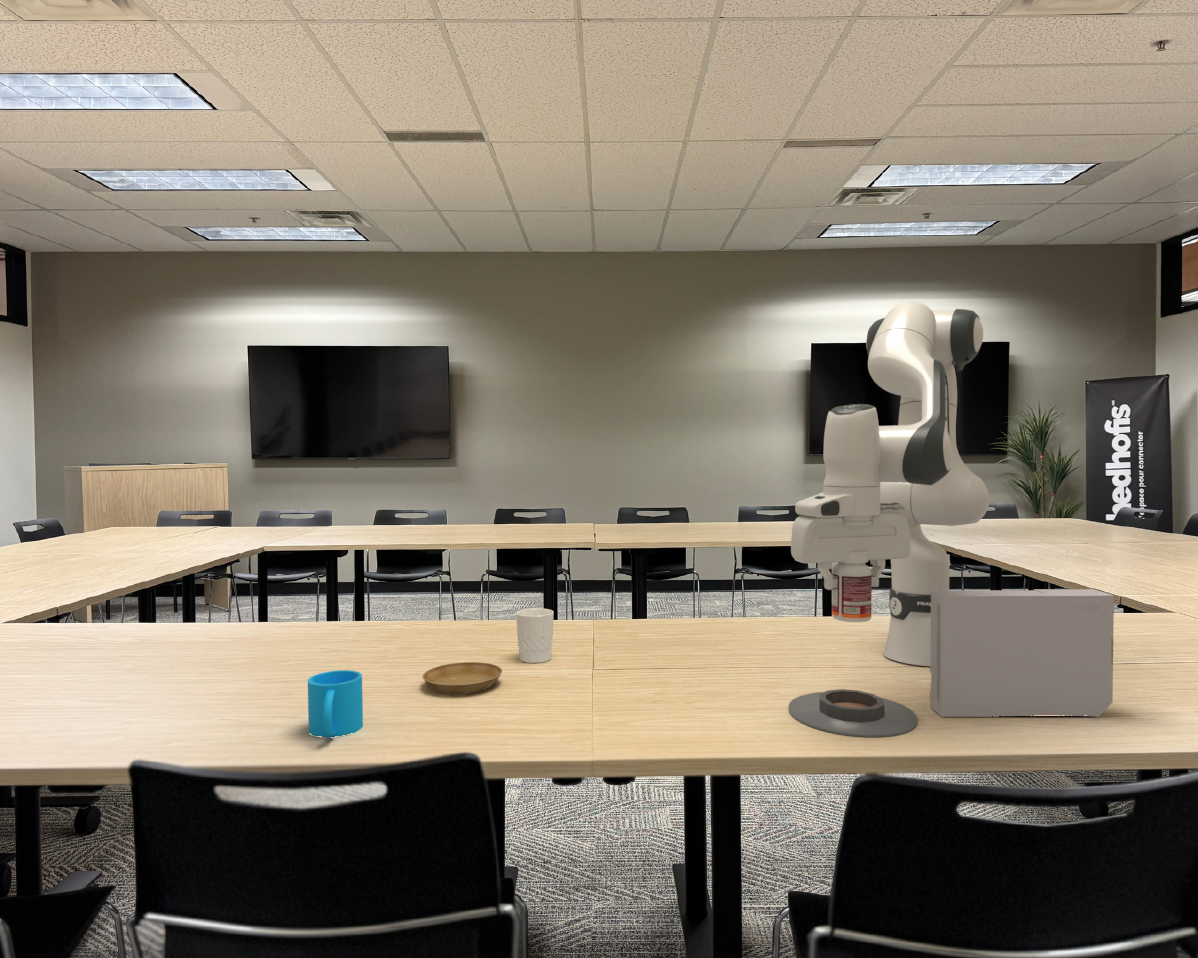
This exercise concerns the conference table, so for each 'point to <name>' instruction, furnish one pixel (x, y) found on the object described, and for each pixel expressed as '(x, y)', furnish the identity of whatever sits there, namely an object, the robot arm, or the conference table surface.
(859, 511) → the robot arm
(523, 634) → the white cup
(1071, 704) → the game console
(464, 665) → the plant saucer
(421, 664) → the conference table surface
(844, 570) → the pill bottle
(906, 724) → the round tray
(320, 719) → the mug
